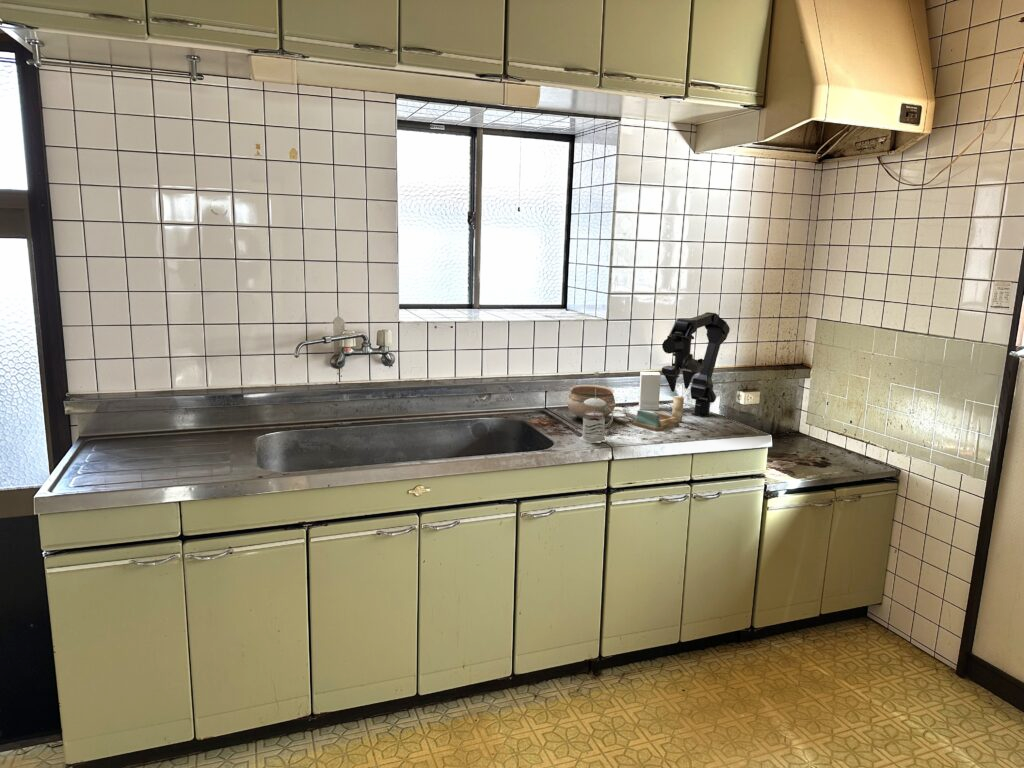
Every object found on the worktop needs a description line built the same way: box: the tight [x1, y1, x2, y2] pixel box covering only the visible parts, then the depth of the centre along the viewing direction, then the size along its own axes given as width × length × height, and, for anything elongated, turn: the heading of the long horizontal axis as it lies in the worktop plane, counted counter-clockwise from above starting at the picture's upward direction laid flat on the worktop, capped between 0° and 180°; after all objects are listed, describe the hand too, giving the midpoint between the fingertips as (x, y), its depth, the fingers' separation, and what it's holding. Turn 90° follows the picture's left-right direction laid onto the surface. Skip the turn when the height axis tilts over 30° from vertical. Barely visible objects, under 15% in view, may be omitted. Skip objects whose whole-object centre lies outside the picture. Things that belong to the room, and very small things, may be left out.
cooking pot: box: [566, 384, 617, 421], centre depth 282 cm, size 25×19×12 cm
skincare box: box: [638, 371, 662, 411], centre depth 302 cm, size 8×7×16 cm
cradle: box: [631, 409, 680, 432], centre depth 278 cm, size 16×11×6 cm
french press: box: [579, 371, 614, 442], centre depth 253 cm, size 10×12×25 cm
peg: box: [671, 395, 685, 424], centre depth 283 cm, size 4×4×10 cm
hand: (679, 390), depth 281 cm, fingers open, 9 cm apart
